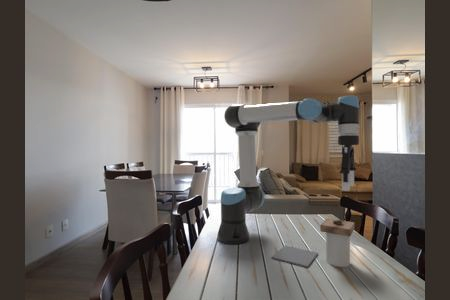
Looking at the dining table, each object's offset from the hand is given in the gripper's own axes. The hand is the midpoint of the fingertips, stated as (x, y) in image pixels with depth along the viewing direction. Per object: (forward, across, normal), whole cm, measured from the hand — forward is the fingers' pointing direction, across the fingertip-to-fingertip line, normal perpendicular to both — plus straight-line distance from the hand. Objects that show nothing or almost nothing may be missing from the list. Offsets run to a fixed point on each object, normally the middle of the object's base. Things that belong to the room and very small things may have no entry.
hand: (348, 188), depth 102 cm
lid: (+15, -9, +2) cm, 18 cm away
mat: (+27, -13, +18) cm, 35 cm away
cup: (+27, -9, +2) cm, 29 cm away
